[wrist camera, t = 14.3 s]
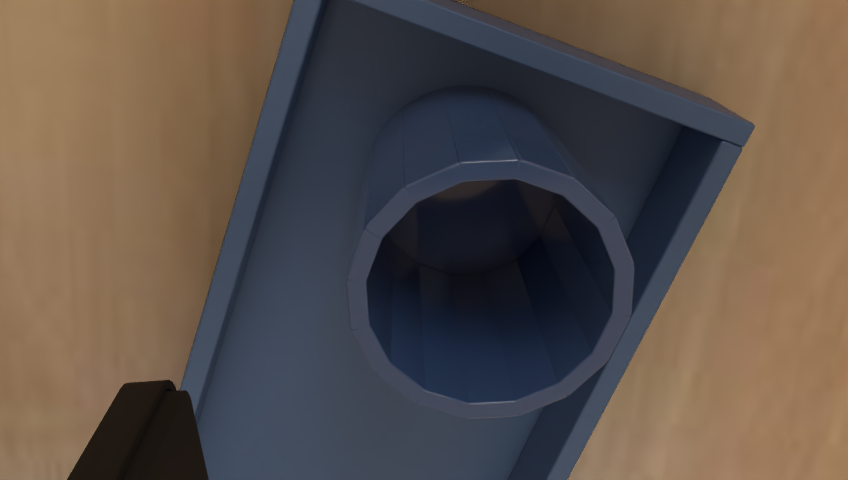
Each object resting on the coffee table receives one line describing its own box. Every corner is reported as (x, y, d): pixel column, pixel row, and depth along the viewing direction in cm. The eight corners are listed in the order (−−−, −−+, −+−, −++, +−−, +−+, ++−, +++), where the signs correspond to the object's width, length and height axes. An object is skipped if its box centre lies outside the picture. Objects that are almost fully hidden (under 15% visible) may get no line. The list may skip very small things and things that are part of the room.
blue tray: (319, -51, 20) (306, -46, 17) (711, 98, 22) (756, 125, 19) (130, 583, 28) (100, 657, 25) (430, 656, 29) (433, 733, 27)
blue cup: (403, 54, 20) (403, 117, 14) (598, 126, 21) (683, 216, 15) (337, 242, 22) (310, 374, 16) (518, 300, 23) (563, 448, 17)
